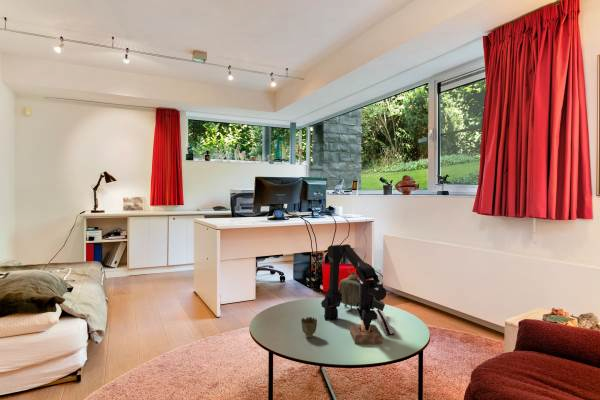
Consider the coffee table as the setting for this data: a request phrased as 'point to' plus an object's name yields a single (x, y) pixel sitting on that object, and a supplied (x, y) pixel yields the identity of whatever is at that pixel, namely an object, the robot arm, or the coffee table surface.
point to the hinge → (383, 322)
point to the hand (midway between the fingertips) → (365, 327)
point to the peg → (364, 327)
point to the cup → (309, 326)
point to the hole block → (365, 335)
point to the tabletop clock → (350, 289)
